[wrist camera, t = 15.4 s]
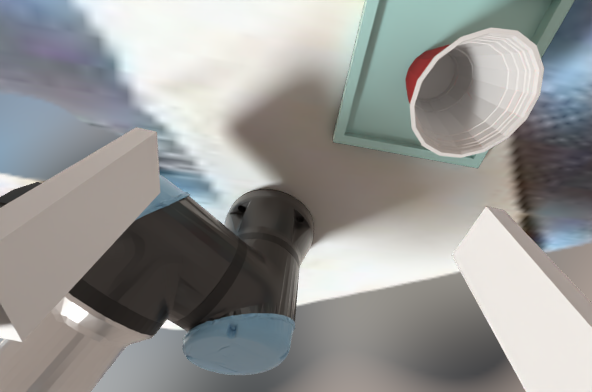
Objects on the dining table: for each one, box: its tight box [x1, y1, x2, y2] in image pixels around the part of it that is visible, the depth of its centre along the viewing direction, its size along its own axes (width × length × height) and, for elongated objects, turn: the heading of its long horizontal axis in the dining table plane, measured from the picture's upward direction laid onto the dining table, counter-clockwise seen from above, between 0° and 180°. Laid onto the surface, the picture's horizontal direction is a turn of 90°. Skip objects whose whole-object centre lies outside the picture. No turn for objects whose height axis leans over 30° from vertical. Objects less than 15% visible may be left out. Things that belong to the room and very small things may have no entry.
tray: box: [333, 0, 575, 168], centre depth 34 cm, size 20×20×2 cm
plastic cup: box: [405, 27, 544, 158], centre depth 29 cm, size 11×11×12 cm
